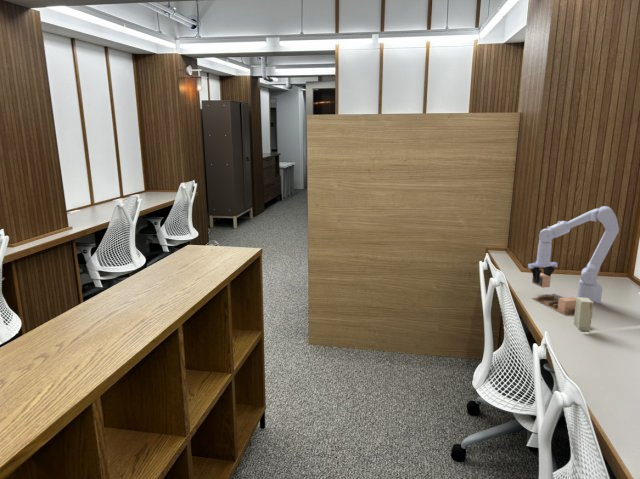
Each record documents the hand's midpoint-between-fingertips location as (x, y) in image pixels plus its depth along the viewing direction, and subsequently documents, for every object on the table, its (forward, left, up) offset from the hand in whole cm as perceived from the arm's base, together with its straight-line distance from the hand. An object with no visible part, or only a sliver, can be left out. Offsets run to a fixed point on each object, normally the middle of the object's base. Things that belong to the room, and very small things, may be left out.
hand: (540, 282), depth 223 cm
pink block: (+4, +22, -5) cm, 23 cm away
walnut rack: (+3, +17, -6) cm, 18 cm away
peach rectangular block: (0, 0, -2) cm, 2 cm away
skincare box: (+12, +39, -7) cm, 41 cm away
